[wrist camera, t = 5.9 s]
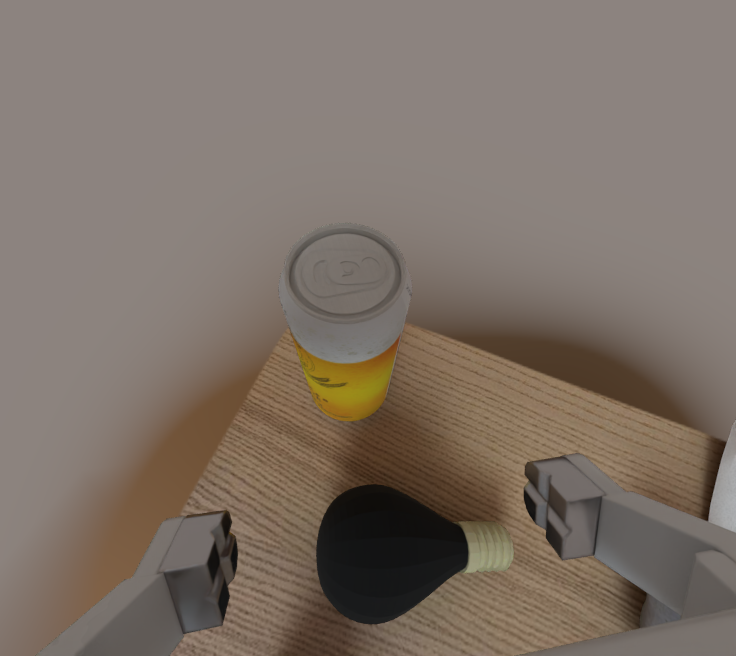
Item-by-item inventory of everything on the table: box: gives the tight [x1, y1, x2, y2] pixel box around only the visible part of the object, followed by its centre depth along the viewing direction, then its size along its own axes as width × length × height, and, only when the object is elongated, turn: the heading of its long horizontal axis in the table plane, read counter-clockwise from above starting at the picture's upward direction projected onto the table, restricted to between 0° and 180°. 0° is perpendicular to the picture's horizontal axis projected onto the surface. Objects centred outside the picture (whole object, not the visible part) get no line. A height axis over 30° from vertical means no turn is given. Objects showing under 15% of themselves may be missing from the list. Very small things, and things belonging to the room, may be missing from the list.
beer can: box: [279, 223, 412, 421], centre depth 22 cm, size 6×6×15 cm
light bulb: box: [316, 484, 514, 624], centre depth 21 cm, size 7×7×12 cm
